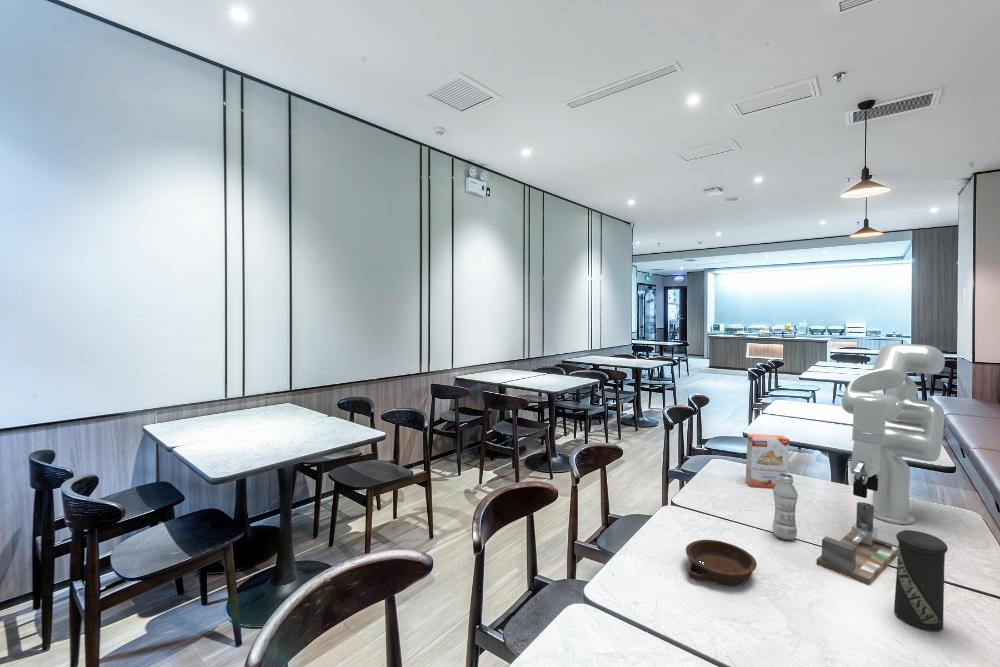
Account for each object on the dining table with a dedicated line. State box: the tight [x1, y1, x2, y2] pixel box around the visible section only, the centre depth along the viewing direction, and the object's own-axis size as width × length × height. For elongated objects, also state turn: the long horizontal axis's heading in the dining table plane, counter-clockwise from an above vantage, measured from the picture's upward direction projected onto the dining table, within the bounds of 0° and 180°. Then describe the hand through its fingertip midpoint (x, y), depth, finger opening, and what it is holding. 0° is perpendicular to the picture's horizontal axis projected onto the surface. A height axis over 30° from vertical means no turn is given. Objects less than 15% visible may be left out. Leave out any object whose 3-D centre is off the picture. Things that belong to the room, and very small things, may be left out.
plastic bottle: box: [771, 474, 799, 541], centre depth 142 cm, size 6×7×20 cm
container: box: [893, 529, 949, 632], centre depth 104 cm, size 9×9×20 cm
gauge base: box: [815, 531, 898, 586], centre depth 130 cm, size 28×12×8 cm, turn 125°
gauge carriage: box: [850, 501, 892, 549], centre depth 133 cm, size 11×9×11 cm
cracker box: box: [745, 433, 790, 489], centre depth 184 cm, size 14×6×21 cm, turn 81°
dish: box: [685, 539, 757, 587], centre depth 124 cm, size 18×22×5 cm
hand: (865, 492), depth 136 cm, fingers open, 9 cm apart
